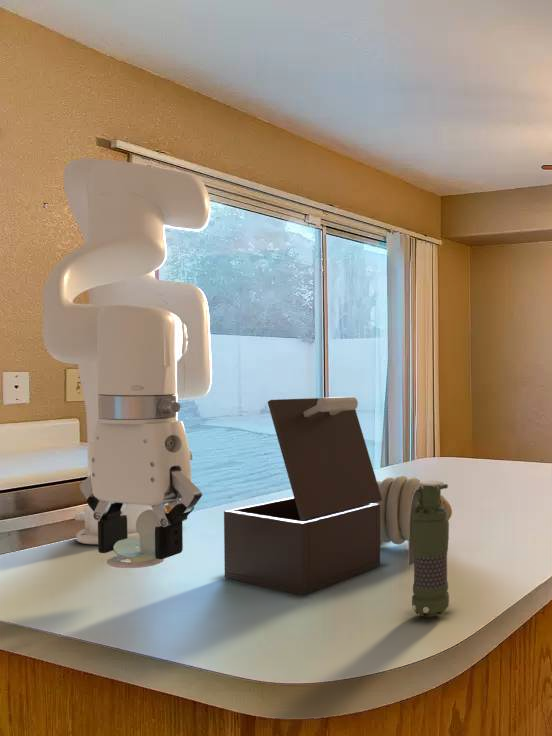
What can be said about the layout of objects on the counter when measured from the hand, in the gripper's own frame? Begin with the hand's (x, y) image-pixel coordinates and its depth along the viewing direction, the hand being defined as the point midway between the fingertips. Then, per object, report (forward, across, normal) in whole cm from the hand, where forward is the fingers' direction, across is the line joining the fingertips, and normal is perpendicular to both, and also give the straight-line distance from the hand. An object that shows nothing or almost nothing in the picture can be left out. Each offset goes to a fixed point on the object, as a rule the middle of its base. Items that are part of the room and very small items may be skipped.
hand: (141, 551), depth 73 cm
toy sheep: (+5, -21, -24) cm, 32 cm away
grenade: (+4, -38, 0) cm, 38 cm away
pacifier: (+2, 0, 0) cm, 2 cm away
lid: (-12, -18, -10) cm, 24 cm away
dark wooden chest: (+5, -15, -10) cm, 19 cm away
